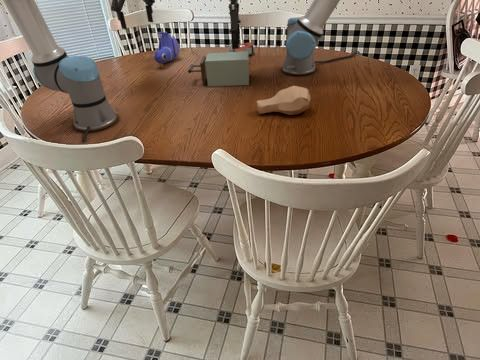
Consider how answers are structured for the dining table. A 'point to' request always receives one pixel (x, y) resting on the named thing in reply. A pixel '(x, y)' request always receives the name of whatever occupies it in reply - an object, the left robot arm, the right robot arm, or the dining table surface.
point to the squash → (286, 101)
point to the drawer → (203, 70)
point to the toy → (166, 49)
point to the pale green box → (227, 68)
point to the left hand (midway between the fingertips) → (137, 25)
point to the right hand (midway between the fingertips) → (236, 44)
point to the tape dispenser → (243, 48)
